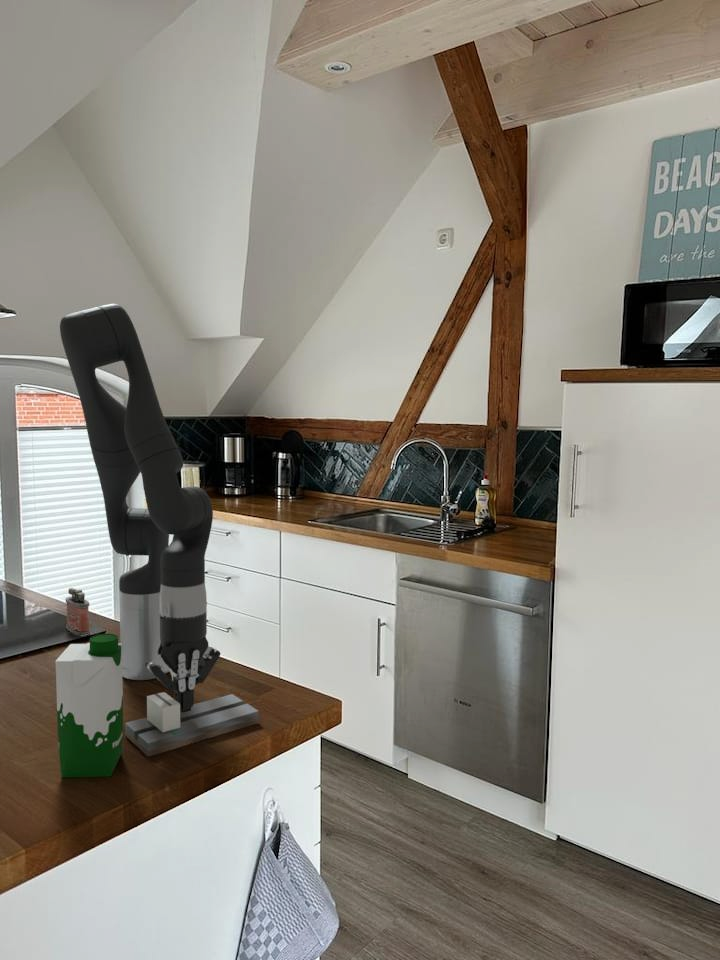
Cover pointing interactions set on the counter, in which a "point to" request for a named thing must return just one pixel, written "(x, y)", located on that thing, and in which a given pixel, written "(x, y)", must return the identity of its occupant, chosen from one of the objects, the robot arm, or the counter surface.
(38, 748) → the counter surface
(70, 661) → the milk carton
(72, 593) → the lighter
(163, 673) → the robot arm
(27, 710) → the counter surface
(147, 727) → the slider panel
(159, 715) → the slider knob
